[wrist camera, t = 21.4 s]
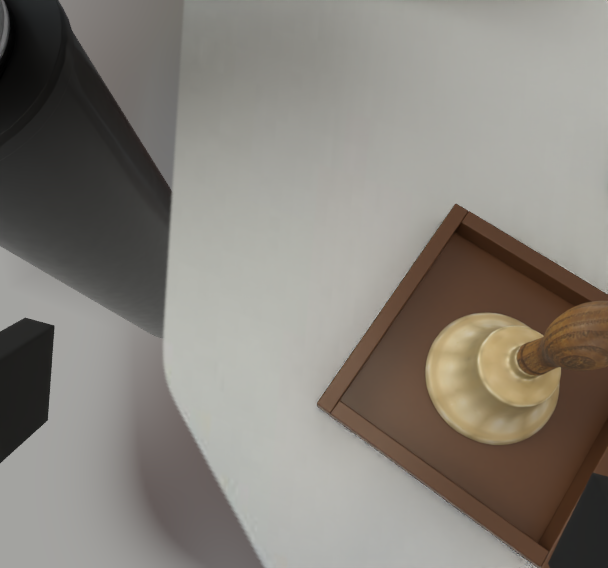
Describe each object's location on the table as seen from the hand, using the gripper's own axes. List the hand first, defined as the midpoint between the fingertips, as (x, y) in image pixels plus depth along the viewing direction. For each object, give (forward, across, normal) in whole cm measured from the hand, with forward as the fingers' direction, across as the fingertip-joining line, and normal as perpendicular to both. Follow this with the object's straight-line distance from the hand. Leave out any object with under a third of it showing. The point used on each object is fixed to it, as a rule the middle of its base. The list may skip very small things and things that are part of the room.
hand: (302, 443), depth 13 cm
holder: (+21, +11, -6) cm, 25 cm away
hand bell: (+21, +11, -6) cm, 24 cm away
